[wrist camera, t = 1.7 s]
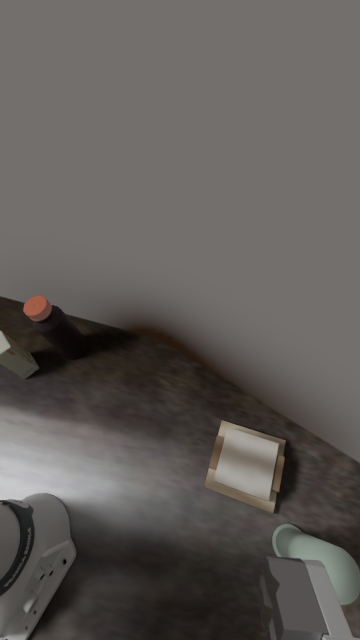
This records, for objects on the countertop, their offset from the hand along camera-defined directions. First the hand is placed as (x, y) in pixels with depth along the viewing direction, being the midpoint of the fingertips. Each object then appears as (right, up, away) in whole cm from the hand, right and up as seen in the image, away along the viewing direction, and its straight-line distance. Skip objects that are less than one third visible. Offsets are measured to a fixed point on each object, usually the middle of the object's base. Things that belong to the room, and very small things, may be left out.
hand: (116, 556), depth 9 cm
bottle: (-25, -1, +71) cm, 75 cm away
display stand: (+15, -22, +52) cm, 59 cm away
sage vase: (+21, -33, +45) cm, 59 cm away
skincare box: (-37, -5, +70) cm, 79 cm away
